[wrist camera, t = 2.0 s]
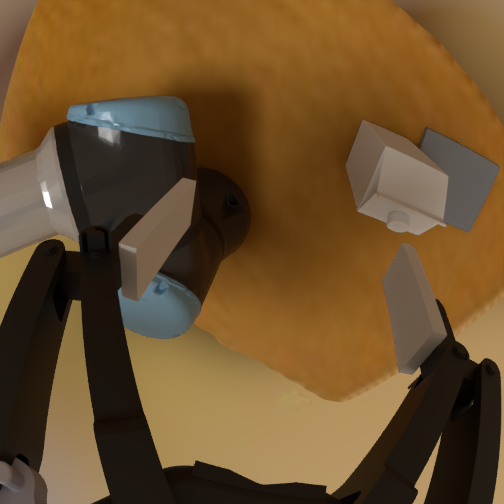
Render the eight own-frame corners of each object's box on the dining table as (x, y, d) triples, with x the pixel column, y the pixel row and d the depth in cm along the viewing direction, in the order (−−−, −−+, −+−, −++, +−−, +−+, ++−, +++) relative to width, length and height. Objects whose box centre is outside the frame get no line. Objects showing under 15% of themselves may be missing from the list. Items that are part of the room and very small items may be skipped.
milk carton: (362, 118, 37) (396, 158, 22) (408, 139, 37) (464, 192, 22) (344, 165, 41) (361, 232, 26) (389, 183, 41) (427, 258, 26)
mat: (396, 201, 43) (397, 203, 42) (425, 127, 36) (427, 128, 35) (467, 230, 42) (468, 232, 41) (497, 165, 35) (500, 167, 35)
